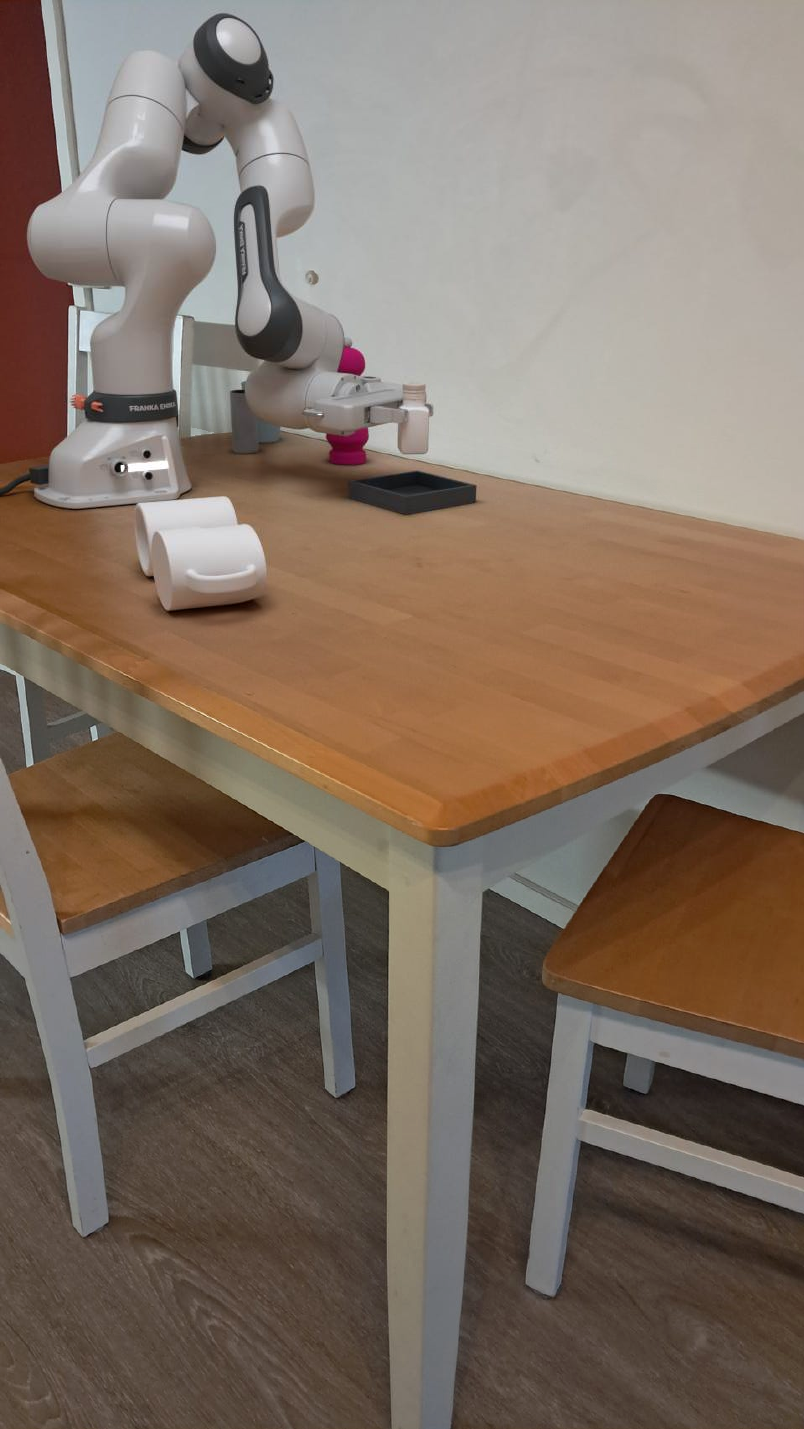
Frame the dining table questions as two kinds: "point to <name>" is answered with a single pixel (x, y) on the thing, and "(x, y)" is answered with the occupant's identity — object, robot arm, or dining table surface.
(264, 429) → the cup
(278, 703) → the dining table surface
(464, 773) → the dining table surface
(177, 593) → the mug
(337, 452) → the pepper mill
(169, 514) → the mug
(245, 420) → the planter
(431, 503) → the spice tray
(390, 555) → the dining table surface
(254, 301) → the robot arm
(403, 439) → the pepper shaker
